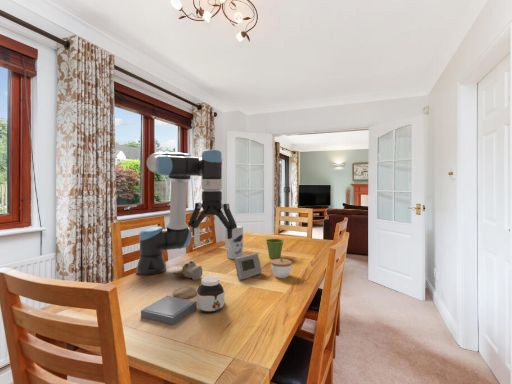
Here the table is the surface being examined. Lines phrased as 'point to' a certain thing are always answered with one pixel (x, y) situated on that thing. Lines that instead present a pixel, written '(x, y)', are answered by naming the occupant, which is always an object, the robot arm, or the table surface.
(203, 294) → the spread jar
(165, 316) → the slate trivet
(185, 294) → the oak coaster
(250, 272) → the digital clock
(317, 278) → the table surface
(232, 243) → the container
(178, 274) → the ceramic sculpture
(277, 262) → the lidded jar
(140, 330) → the table surface
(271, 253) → the plant pot
